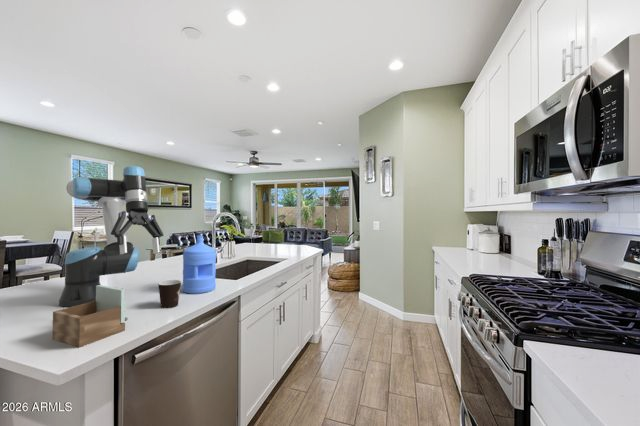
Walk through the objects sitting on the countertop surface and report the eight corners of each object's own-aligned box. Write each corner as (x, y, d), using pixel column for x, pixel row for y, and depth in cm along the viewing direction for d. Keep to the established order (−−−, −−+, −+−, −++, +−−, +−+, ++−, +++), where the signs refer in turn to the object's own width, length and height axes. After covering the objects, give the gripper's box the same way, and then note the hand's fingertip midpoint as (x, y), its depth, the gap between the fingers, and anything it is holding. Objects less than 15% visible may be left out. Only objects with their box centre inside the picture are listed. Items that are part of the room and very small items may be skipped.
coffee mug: (170, 310, 113) (171, 285, 113) (152, 308, 114) (153, 284, 114) (189, 301, 124) (190, 279, 124) (173, 299, 126) (173, 277, 126)
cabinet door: (120, 323, 92) (121, 290, 92) (95, 317, 97) (96, 285, 97) (128, 320, 94) (128, 288, 94) (103, 314, 99) (103, 284, 99)
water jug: (189, 286, 149) (189, 234, 149) (218, 285, 151) (219, 234, 151) (177, 294, 134) (178, 237, 134) (210, 294, 135) (211, 237, 135)
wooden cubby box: (52, 338, 86) (52, 311, 86) (98, 323, 98) (99, 299, 98) (79, 347, 81) (79, 318, 81) (124, 330, 93) (125, 305, 93)
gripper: (111, 194, 100) (114, 251, 96) (169, 204, 124) (174, 251, 119) (97, 200, 103) (100, 256, 98) (157, 209, 126) (161, 255, 121)
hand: (140, 253), depth 109 cm, fingers open, 13 cm apart
